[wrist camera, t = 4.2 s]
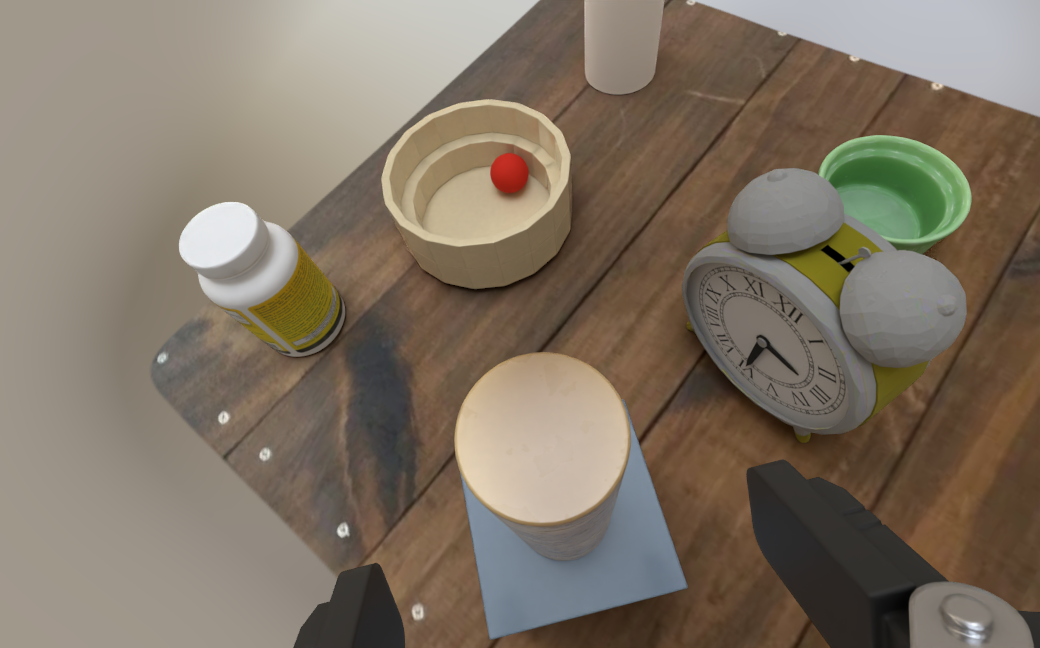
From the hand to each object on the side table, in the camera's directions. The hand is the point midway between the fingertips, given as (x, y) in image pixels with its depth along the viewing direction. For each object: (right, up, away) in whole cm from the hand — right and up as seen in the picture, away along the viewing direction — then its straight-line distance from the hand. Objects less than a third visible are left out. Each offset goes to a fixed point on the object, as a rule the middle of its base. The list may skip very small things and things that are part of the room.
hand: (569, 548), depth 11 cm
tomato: (-2, +17, +30) cm, 35 cm away
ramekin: (+24, +12, +27) cm, 38 cm away
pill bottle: (-17, +5, +29) cm, 34 cm away
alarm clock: (+15, +2, +24) cm, 28 cm away
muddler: (+1, -3, +11) cm, 12 cm away
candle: (+8, +28, +38) cm, 47 cm away
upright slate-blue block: (+2, -8, +20) cm, 22 cm away
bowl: (-4, +13, +31) cm, 34 cm away
